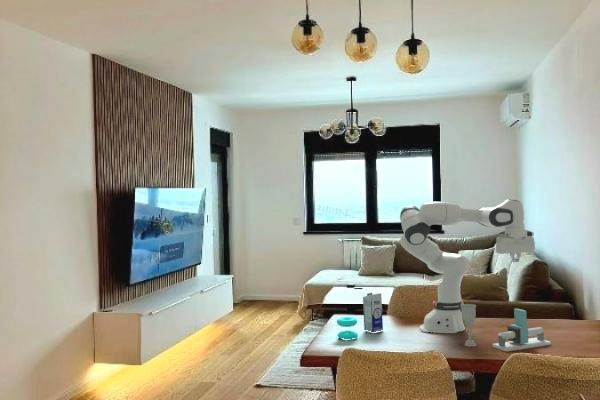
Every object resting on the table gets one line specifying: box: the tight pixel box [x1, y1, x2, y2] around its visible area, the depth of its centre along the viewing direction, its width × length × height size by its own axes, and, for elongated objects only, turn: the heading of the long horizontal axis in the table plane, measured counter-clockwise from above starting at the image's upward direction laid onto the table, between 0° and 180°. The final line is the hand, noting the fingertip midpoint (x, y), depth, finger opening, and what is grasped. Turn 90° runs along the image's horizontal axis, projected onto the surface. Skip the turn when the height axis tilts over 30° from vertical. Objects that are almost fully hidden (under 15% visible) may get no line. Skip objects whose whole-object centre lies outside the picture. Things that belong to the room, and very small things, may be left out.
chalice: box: [461, 303, 477, 348], centre depth 251 cm, size 7×7×18 cm
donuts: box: [336, 316, 359, 339], centre depth 272 cm, size 10×10×10 cm
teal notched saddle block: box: [509, 308, 529, 344], centre depth 246 cm, size 4×7×14 cm, turn 18°
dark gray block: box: [507, 325, 520, 343], centre depth 245 cm, size 2×6×6 cm, turn 18°
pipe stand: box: [492, 326, 552, 352], centre depth 246 cm, size 24×9×7 cm, turn 108°
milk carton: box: [362, 292, 384, 332], centre depth 284 cm, size 7×7×20 cm
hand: (515, 262), depth 265 cm, fingers closed
